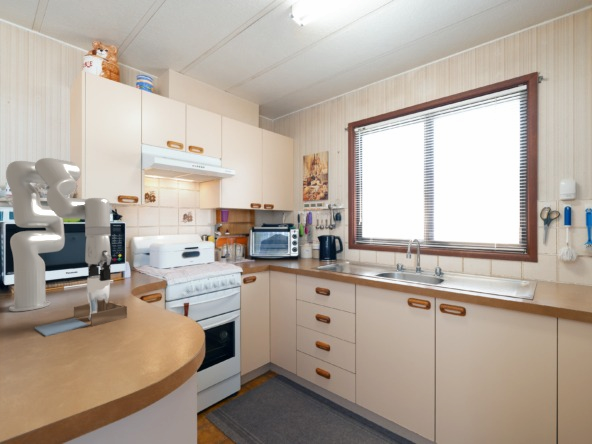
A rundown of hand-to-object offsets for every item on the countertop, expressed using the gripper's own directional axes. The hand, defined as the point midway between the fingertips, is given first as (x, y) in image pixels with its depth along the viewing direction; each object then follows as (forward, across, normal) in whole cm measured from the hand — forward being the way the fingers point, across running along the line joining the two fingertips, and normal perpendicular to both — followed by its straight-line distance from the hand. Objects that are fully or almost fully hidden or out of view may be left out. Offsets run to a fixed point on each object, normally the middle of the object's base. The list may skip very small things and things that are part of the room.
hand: (99, 279), depth 105 cm
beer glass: (+14, -1, 0) cm, 14 cm away
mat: (+14, -1, -11) cm, 18 cm away
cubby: (+14, -1, 0) cm, 14 cm away
